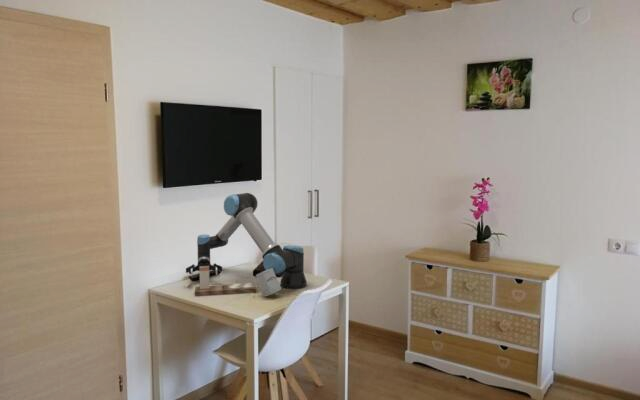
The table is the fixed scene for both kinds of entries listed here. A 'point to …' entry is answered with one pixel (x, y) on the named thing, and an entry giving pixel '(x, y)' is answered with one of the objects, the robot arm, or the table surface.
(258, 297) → the table surface
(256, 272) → the diary
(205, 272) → the stub
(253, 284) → the board
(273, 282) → the supplement box
